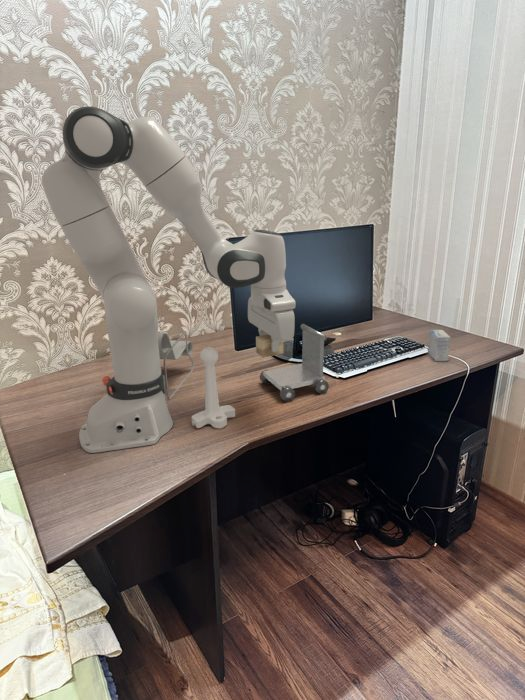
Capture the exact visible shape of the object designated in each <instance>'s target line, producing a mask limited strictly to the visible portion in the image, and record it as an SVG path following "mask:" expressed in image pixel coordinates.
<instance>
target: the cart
mask: <svg viewBox="0 0 525 700" xmlns="http://www.w3.org/2000/svg"><path fill="white" fill-rule="evenodd" d="M299 328H300V329H301V330H302V340H301V341H302V349H301V351H302V353H301V363H296V364H293V365H288V366H283V367H278V368H273V369H265V370H263V371H261V372H260V374H259V380H260V382H261V383H263V384H264V385H270V384H272V385H273V386H274V387H276V388H277V389H278V390H279V391H280V392H279V397H280V399H281V400H282V401H283V402H285V403H290V402H292V401H293V400H294V398H295V397H296V391H295V390H294V389H298V388H302V387H305V386H306V387H307V386H312V385H313V389H314V391H315V392H316V393H318V394H320V395H323V394H326V392H327V391H328V390H329V387H330V385H329V383H328V381H326V377H325V376H324V357H325V354H324V353H325V345H324V341H325V340H326V339H327V335H325V334H324V333H322V332H320V331H318V330H316V329H314V328H312V327H310V326H308V325H306V324H305V323H301V325H300V327H299Z"/></svg>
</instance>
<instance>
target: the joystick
mask: <svg viewBox="0 0 525 700" xmlns="http://www.w3.org/2000/svg"><path fill="white" fill-rule="evenodd" d="M199 357H200V361H201V362H202V364H204V371H205V372H204V374H205V375H204V378H205V379H204V381H205V382H204V384H205V385H204V386H205V387H204V391H205V393H204V394H205V396H204V397H205V398H204V399H205V403H204V404H205V405H204V406H205V409H204V410H202V411H199V412H197V413H195V414H193V415H192V416H191V425H192V426H193V427H195V428H196V429H200V428H202V427H204V426H206V425H211V427H213V428H215V429H223V428H225V427H226V426H227V425H228V418H235V417H236V408H235V407H233V406H231V405H230V404H225V405H220V400H219V393H218V391H219V390H218V384H217V376H216V375H217V374H216V366H215V365H216V363H217V362H218V359H219V353H218V350H217V349H216V348H214V347H212V346H206V347H204V348H203V349H202V350H200V355H199Z"/></svg>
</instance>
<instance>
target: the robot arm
mask: <svg viewBox="0 0 525 700" xmlns="http://www.w3.org/2000/svg"><path fill="white" fill-rule="evenodd" d="M62 140H63V147H64V155H63V157H62V158H61V159H60V160H58V161H55V162H53V163H51V164H50V165H49V166H48V167H47V168H46V169H44V171H43V173H42V176H41V185H42V187H43V191H44V194H45V196H46V199H47V202H48V204H49V206H50V209H51V211H52V213H53V215H54V218H55V219H56V221H57V223H58V225H59V226H60V228H61V230H62V232H63V233H64V235H65V237H66V240H67V242H69V245H70V246H71V248H72V250H73V252H74V253H75V255H76V257H77V260H78V261H79V262H80V264H81V265H82V267H83V268H84V270H85V271H86V273H87V274H88V276H89V277H90V279H91V281H92V282H93V284H94V286H95V287H96V289H97V290H98V292H99V294H100V295H101V299H102V301H103V309H104V316H105V321H106V330H107V335H108V336H107V337H108V343H109V350H110V357H111V358H110V359H111V365H112V371H113V377H110V376H109V375H105V376H103V377H102V379H101V380H102V384H103V385H104V386H105V387H106V392H107V393H105V395H104V396H102V398H100V399H99V400H98V401H97V402H96V403H94V404H93V405H92V406H91V407H90V408H89V410H88V415H87V419H86V423H84V424H83V425H82V426H81V427H80V429H79V432H78V441H79V444H80V447H81V448H82V449H83V450H84V451H85V452H87V453H90V454H95V453H96V454H97V453H103V452H110V451H116V450H123V449H124V450H125V449H129V448H137V447H144V446H152V445H155V444H157V442H158V441H159V440H160V438H161V437H162V436H164V435H165V434H167V433H168V432H169V431H170V430H171V429H172V427H173V425H174V421H173V418H172V417H171V413H170V411H169V408H168V405H167V401H166V397H165V396H166V381H164V376H163V375H164V373H163V372H162V367H161V359H160V356H159V346H158V332H159V319H158V302H157V301H158V300H157V296H156V294H155V292H154V289H153V288H152V287H151V285H150V283H149V281H148V279H147V278H146V276H145V273H144V272H143V270H142V268H141V265H140V263H139V262H138V260H137V259H138V258H137V257H136V255H135V253H134V251H133V249H132V247H131V245H130V243H129V241H128V238H127V237H126V235H125V233H124V231H123V229H122V227H121V224H120V222H119V220H118V219H117V217H116V215H115V212H114V211H113V209H112V207H111V205H110V203H109V201H108V199H107V197H106V195H105V193H104V190H103V188H102V185H101V181H100V174H101V173H102V172H103V171H104V170H105V169H108V168H109V167H112V166H113V165H116V164H123V165H124V166H127V167H128V168H129V169H130V170H131V171H132V172H133V173H134V174H135V175H136V177H137V178H138V179H139V181H140V182H141V184H142V185H143V186H144V188H145V189H146V190H147V192H148V193H149V194H150V195H151V197H152V198H153V199H154V200H155V201H156V202H157V203H158V204H159V205H160V206H161V207H162V208H163V209H165V210H166V211H167V212H168V213H169V214H170V215H172V216H173V217H174V218H175V219H176V220H177V221H178V222H179V223H181V225H182V226H183V227H184V229H185V230H186V232H187V233H188V234H189V236H190V238H191V239H192V240H193V242H194V243H195V245H196V246H197V248H198V249H199V250H200V253H201V257H202V261H203V265H204V268H205V270H206V272H207V274H208V275H209V276H211V278H212V279H215V280H217V281H219V282H220V283H221V284H222V285H224V286H226V287H227V288H228V287H229V288H233V289H240V288H243V287H248V286H250V297H249V298H248V301H247V319H248V322H249V323H250V324H252V325H253V326H255V327H256V328H258V329H257V330H258V333H259V336H263V335H268V334H269V335H270V336H271V339H272V343H271V344H270V350H271V351H273V352H276V351H278V349H279V343H280V342H283V343H284V342H288V341H292V339H293V338H294V336H295V324H296V323H295V321H296V320H295V313H294V309H296V305H297V303H296V300H295V299H294V298H293V297H292V295H291V294H290V293H289V290H288V289H287V281H286V277H285V273H286V268H287V256H286V254H287V253H286V252H287V251H286V244H285V239H284V237H283V236H282V235H281V234H280V233H278V232H276V231H271V230H265V229H254V230H252V231H251V233H249V234H248V235H247V236H246V237H245V238H243V239H241V240H240V241H238V242H236V243H232V242H231V241H229V240H227V239H226V238H225V237H224V236H222V235H221V234H220V232H219V231H218V229H217V228H216V226H215V225H214V223H213V222H212V219H210V216H208V213H206V211H205V209H204V207H203V204H202V198H201V197H202V196H201V194H202V182H201V181H200V178H199V176H198V174H197V171H196V170H195V168H194V166H193V163H191V161H190V160H189V158H188V157H187V155H186V154H185V152H184V151H183V149H182V148H181V146H180V145H179V144H178V143H177V142H176V140H175V139H174V138H173V136H172V135H170V133H169V132H168V131H167V129H165V128H164V126H163V125H161V124H160V123H159V121H157V119H155V118H153V117H150V116H139V117H137V118H134V119H132V120H130V121H129V122H127V121H125V120H123V119H121V118H119V117H117V116H115V115H114V114H112V113H110V112H108V111H107V110H104V109H103V108H102V109H101V108H99V107H96V106H89V105H88V106H81V107H78V108H76V109H74V110H72V111H71V112H70V114H69V115H67V117H66V119H65V120H64V123H63V126H62Z"/></svg>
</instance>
